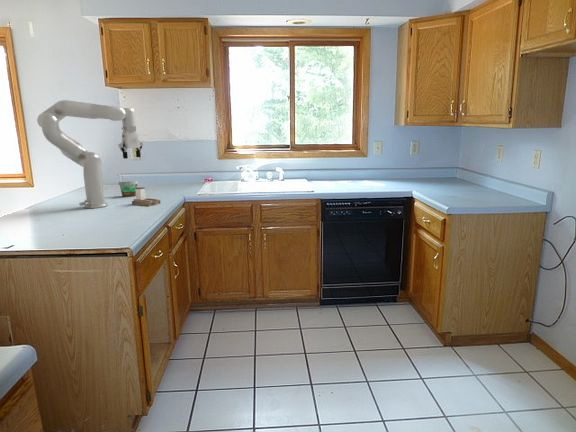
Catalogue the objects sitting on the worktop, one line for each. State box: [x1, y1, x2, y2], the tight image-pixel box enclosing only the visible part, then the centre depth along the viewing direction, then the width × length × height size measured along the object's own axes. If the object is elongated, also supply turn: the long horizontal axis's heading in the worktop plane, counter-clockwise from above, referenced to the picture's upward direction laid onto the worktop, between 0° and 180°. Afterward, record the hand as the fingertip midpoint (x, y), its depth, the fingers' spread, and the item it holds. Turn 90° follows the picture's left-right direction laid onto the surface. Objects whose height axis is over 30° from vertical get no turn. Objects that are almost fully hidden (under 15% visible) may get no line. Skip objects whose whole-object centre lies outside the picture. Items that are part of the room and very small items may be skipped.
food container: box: [118, 180, 139, 198], centre depth 276 cm, size 12×6×10 cm, turn 105°
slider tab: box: [135, 186, 147, 200], centre depth 251 cm, size 4×4×7 cm
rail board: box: [131, 197, 162, 207], centre depth 250 cm, size 9×14×3 cm, turn 63°
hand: (132, 157), depth 255 cm, fingers open, 9 cm apart
